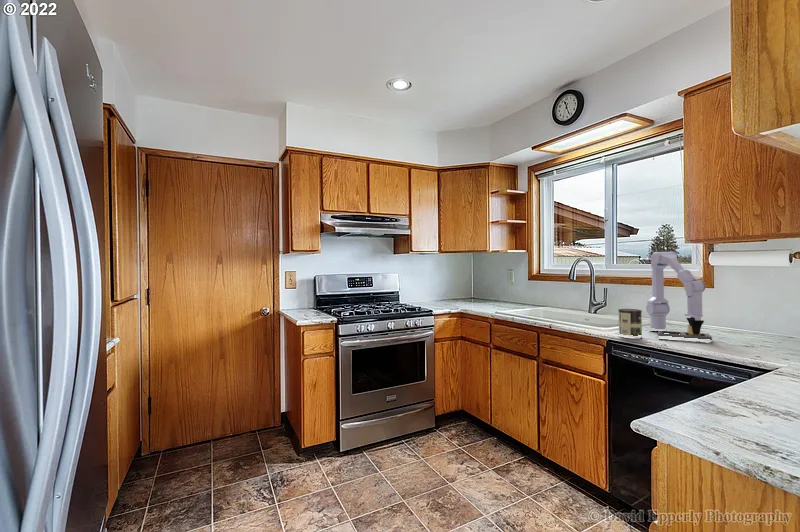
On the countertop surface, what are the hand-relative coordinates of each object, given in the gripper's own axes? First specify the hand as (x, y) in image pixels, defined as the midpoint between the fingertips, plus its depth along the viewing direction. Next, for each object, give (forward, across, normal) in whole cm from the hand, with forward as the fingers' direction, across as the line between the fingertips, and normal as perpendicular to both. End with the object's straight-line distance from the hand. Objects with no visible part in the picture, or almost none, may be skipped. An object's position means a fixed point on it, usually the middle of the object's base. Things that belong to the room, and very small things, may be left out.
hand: (695, 333), depth 186 cm
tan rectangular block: (+2, 0, 0) cm, 2 cm away
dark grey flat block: (+3, 0, -4) cm, 6 cm away
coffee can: (+4, +3, -27) cm, 28 cm away
